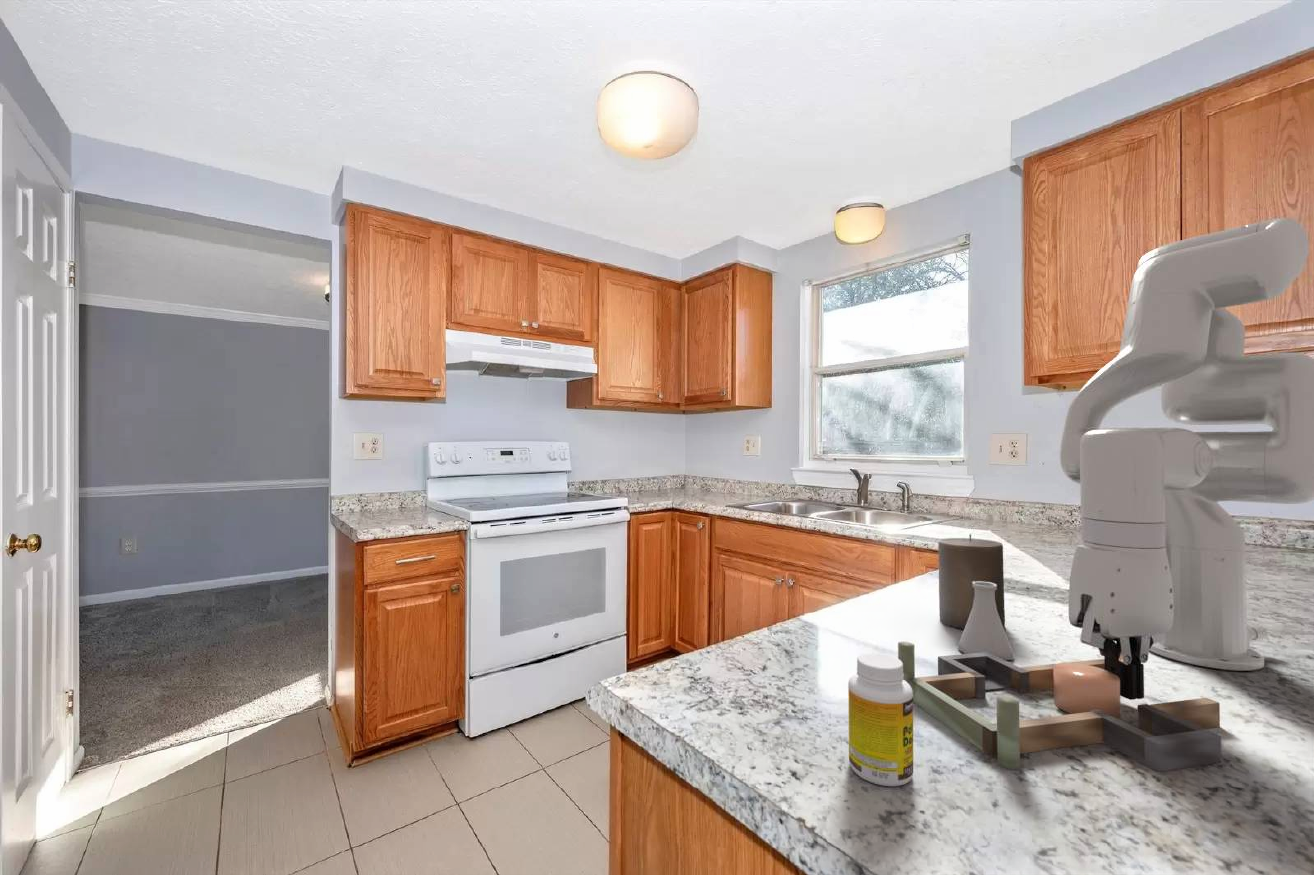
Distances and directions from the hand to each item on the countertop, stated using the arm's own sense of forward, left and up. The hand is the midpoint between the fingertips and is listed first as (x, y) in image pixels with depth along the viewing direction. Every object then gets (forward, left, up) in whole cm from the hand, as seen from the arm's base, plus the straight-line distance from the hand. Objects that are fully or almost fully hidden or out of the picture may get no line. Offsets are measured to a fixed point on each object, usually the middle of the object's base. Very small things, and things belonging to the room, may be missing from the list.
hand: (1124, 693), depth 64 cm
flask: (+3, -17, -2) cm, 17 cm away
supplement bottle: (+35, +6, -1) cm, 36 cm away
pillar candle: (-5, -29, -1) cm, 29 cm away
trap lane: (+9, 0, -1) cm, 10 cm away
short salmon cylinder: (+5, 0, -1) cm, 5 cm away
